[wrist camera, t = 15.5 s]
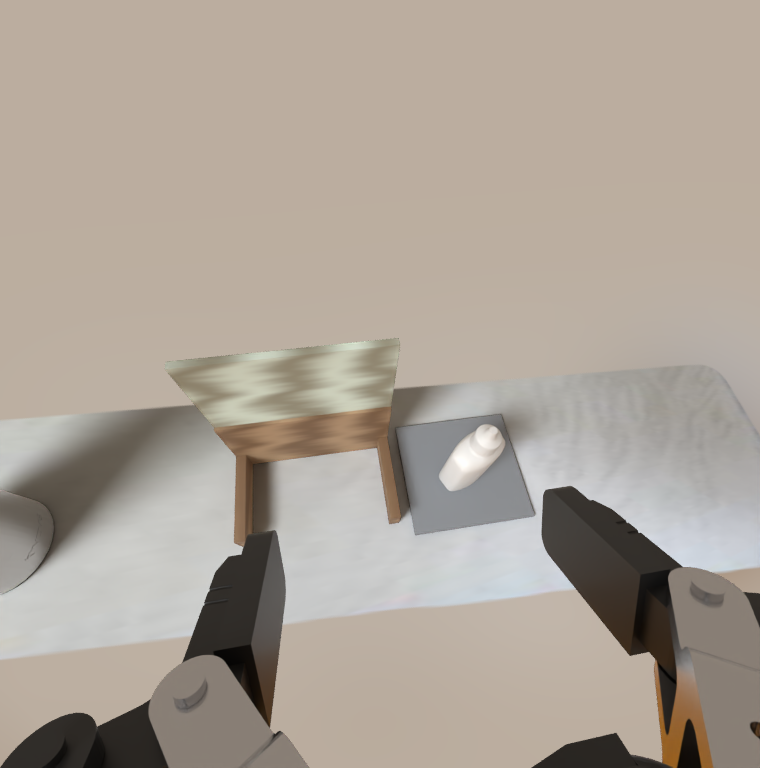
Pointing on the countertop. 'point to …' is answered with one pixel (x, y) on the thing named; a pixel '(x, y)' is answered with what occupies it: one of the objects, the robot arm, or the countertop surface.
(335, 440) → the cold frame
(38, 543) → the robot arm
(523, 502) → the slate mat
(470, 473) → the eye dropper bottle
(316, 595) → the countertop surface
